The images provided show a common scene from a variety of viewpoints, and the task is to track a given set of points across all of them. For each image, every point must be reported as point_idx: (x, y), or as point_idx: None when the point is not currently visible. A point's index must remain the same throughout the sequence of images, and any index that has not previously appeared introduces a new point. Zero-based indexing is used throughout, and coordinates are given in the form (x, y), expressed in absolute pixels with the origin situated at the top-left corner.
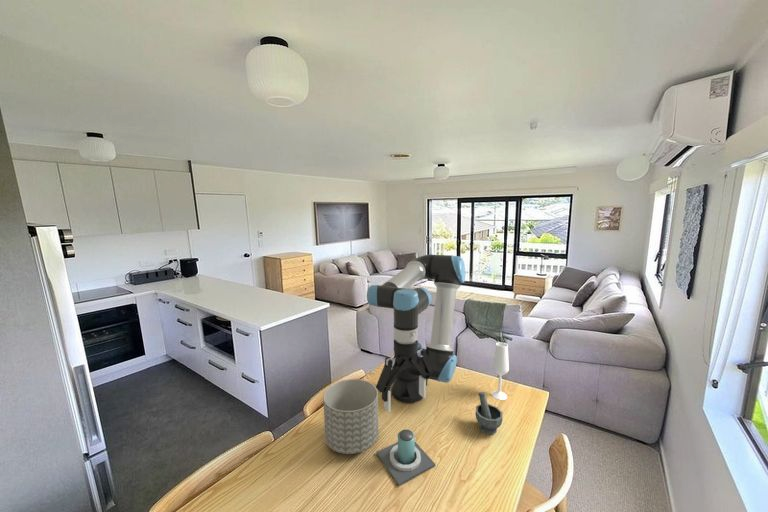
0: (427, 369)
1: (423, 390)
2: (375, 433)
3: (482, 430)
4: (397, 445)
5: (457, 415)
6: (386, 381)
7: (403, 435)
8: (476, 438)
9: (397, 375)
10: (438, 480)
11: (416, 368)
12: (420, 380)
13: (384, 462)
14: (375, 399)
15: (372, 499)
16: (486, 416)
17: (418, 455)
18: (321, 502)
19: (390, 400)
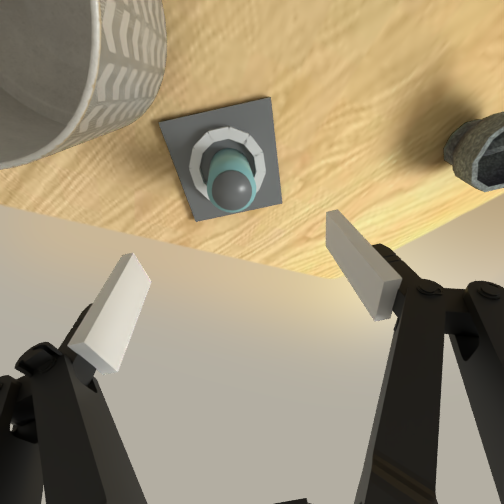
0: (463, 370)
1: (340, 264)
2: (145, 103)
3: (446, 147)
4: (219, 132)
5: (461, 50)
6: (41, 481)
7: (222, 193)
8: (411, 162)
9: (139, 491)
10: (269, 227)
11: (376, 420)
12: (365, 275)
13: (175, 165)
14: (84, 102)
15: (142, 228)
16: (493, 149)
17: (257, 181)
18: (37, 208)
19: (134, 324)
